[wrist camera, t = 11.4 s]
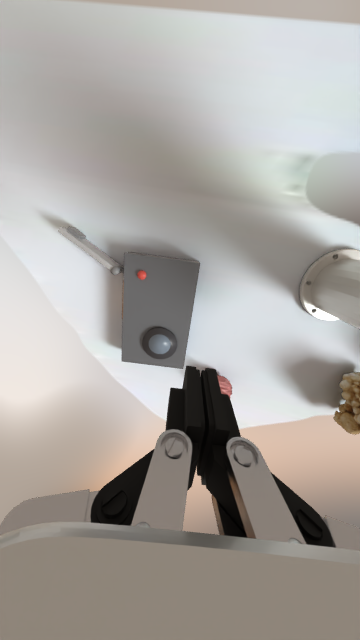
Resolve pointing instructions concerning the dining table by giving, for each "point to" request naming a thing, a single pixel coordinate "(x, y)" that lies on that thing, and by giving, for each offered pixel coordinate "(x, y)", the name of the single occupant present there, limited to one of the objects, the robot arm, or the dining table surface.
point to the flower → (224, 385)
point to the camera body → (157, 308)
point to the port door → (91, 249)
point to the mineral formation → (350, 403)
